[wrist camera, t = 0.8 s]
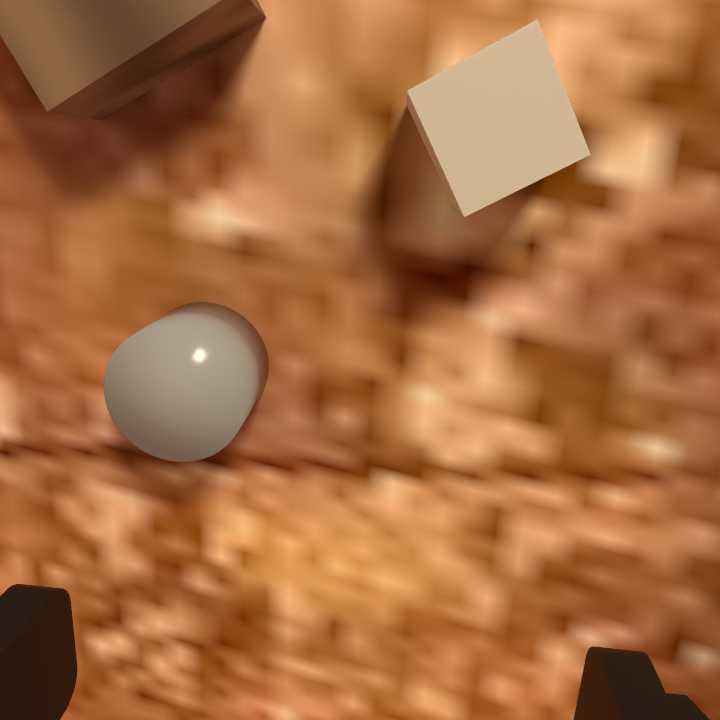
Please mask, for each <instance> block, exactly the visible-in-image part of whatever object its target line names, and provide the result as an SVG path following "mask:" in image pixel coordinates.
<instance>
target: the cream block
mask: <svg viewBox="0 0 720 720" xmlns="http://www.w3.org/2000/svg"><path fill="white" fill-rule="evenodd" d="M407 107H408V110H409V112H410V114H411V116H412V118H413V121H414V123H415V125H416V127H417V129H418V132H419V134H420V136H421V138H422V140H423V143H424V145H425V147H426V149H427V151H428V154H429V156H430V158H431V160H432V162H433V165H434V167H435V169H436V171H437V173H438V176H439V178H440V180H441V182H442V184H443V187H444V189H445V191H446V193H447V195H448V198H449V200H450V202H451V204H452V206H453V208H454V209H455V210H457V211H458V212H459V213H460V214H461V215H462V216H463V217H466V216H468V215H470V214H472V213H474V212H476V211H478V210H480V209H482V208H484V207H486V206H488V205H490V204H492V203H494V202H496V201H498V200H500V199H502V198H504V197H506V196H508V195H510V194H512V193H514V192H516V191H518V190H520V189H522V188H524V187H526V186H528V185H530V184H532V183H534V182H536V181H538V180H540V179H542V178H544V177H546V176H548V175H550V174H552V173H554V172H556V171H558V170H560V169H562V168H564V167H566V166H568V165H570V164H572V163H574V162H576V161H578V160H580V159H582V158H585V157H587V156H589V155H590V152H589V150H588V147H587V144H586V142H585V139H584V137H583V134H582V132H581V129H580V127H579V124H578V121H577V119H576V116H575V114H574V111H573V109H572V106H571V104H570V101H569V99H568V96H567V93H566V91H565V88H564V86H563V83H562V81H561V78H560V76H559V73H558V71H557V68H556V65H555V63H554V60H553V58H552V55H551V53H550V50H549V48H548V45H547V42H546V40H545V37H544V35H543V32H542V30H541V27H540V25H539V22H538V20H536V21H534V22H532V23H530V24H528V25H526V26H525V27H523V28H521V29H519V30H517V31H515V32H514V33H512V34H510V35H508V36H506V37H504V38H503V39H501V40H499V41H497V42H495V43H493V44H492V45H490V46H488V47H486V48H484V49H482V50H481V51H479V52H477V53H475V54H473V55H472V56H470V57H468V58H466V59H464V60H462V61H461V62H459V63H457V64H455V65H453V66H451V67H450V68H448V69H446V70H444V71H442V72H440V73H439V74H437V75H435V76H433V77H431V78H429V79H428V80H426V81H424V82H422V83H420V84H418V85H417V86H415V87H413V88H411V89H409V90H407Z"/></svg>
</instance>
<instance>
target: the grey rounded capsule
mask: <svg viewBox="0 0 720 720" xmlns="http://www.w3.org/2000/svg"><path fill="white" fill-rule="evenodd" d="M268 371H269V363H268V355H267V351H266V348H265V345H264V343H263V341H262V338H261V337H260V335H259V333H258V332H257V330H256V329H255V328H254V327H253V325H252V324H251V323H250V322H249V321H248V320H247V319H246V318H244V317H243V316H242V315H240V314H239V313H237V312H236V311H234V310H232V309H230V308H228V307H225V306H222V305H219V304H215V303H208V302H197V303H190V304H186V305H182V306H180V307H178V308H175V309H174V310H172V311H170V312H169V313H167V314H166V315H164V316H162V317H161V318H159V319H158V320H156V321H154V322H153V323H151V324H150V325H148V326H146V327H145V328H143V329H142V330H140V331H138V332H137V333H135V334H134V335H132V336H130V337H129V338H128V339H126V340H125V341H124V342H123V343H122V344H121V345H120V346H119V347H118V348H117V349H116V351H115V352H114V354H113V355H112V357H111V359H110V361H109V363H108V365H107V369H106V372H105V378H104V395H105V401H106V405H107V408H108V411H109V413H110V416H111V418H112V419H113V421H114V423H115V425H116V426H117V428H118V429H119V430H120V432H121V433H122V434H123V435H124V436H125V437H126V438H127V439H128V440H129V441H130V442H131V443H132V444H134V445H135V446H136V447H138V448H139V449H141V450H142V451H144V452H146V453H148V454H150V455H152V456H155V457H157V458H160V459H164V460H168V461H175V462H189V461H196V460H201V459H204V458H207V457H210V456H212V455H214V454H216V453H217V452H219V451H220V450H222V449H223V448H224V447H226V446H227V445H228V444H229V443H230V442H231V441H232V439H233V438H234V437H235V436H236V434H237V433H238V431H239V429H240V428H241V426H242V425H243V423H244V421H245V420H246V418H247V417H248V415H249V413H250V412H251V410H252V409H253V407H254V405H255V404H256V402H257V401H258V399H259V397H260V396H261V394H262V392H263V390H264V388H265V385H266V383H267V378H268Z"/></svg>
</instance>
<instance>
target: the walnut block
mask: <svg viewBox="0 0 720 720" xmlns="http://www.w3.org/2000/svg"><path fill="white" fill-rule="evenodd" d="M264 18H266V16H265V14H264V12H263V10H262V8H261V7H260V5H259V3H258V1H257V0H0V36H1V37H2V39H3V41H4V42H5V44H6V46H7V47H8V49H9V50H10V52H11V54H12V55H13V57H14V59H15V60H16V62H17V64H18V65H19V67H20V68H21V70H22V72H23V73H24V75H25V77H26V78H27V80H28V82H29V83H30V85H31V86H32V88H33V90H34V91H35V93H36V95H37V96H38V98H39V100H40V101H41V103H42V104H43V106H44V108H45V109H46V111H47V112H52V113H58V114H65V115H72V116H78V117H85V118H91V119H98V120H102V119H104V118H105V117H107V116H109V115H110V114H112V113H114V112H115V111H117V110H118V109H120V108H122V107H123V106H125V105H126V104H128V103H130V102H131V101H133V100H134V99H136V98H138V97H139V96H141V95H142V94H144V93H146V92H147V91H149V90H150V89H152V88H154V87H155V86H157V85H158V84H160V83H162V82H163V81H165V80H166V79H168V78H170V77H171V76H173V75H174V74H176V73H178V72H179V71H181V70H183V69H184V68H186V67H187V66H189V65H191V64H192V63H194V62H195V61H197V60H199V59H200V58H202V57H203V56H205V55H207V54H208V53H210V52H211V51H213V50H215V49H216V48H218V47H219V46H221V45H223V44H224V43H226V42H227V41H229V40H231V39H232V38H234V37H235V36H237V35H239V34H240V33H242V32H243V31H245V30H247V29H248V28H250V27H251V26H253V25H255V24H256V23H258V22H260V21H261V20H263V19H264Z"/></svg>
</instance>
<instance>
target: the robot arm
mask: <svg viewBox="0 0 720 720" xmlns="http://www.w3.org/2000/svg"><path fill="white" fill-rule="evenodd" d="M76 678H77V659H76V649H75V639H74V630H73V620H72V610H71V601H70V596H69V594H68V592H67V591H66V590H65V589H61V588H52V587H43V586H33V585H24V584H15V585H13V586H11V587H10V588H8V589H7V590H6V591H5V592H4V593H3V594H2V595H1V596H0V720H60V719H61V717H62V716H63V714H64V712H65V711H66V709H67V707H68V705H69V702H70V700H71V697H72V694H73V691H74V688H75V683H76ZM574 720H709V719H708V718H707V716H706V715H705V714H704V713H703V712H702V711H701V710H700V709H699V708H698V707H697V706H696V705H695V704H694V703H693V702H692V701H691V700H690V699H689V698H688V697H687V696H686V695H678V694H669V693H665V690H664V688H663V686H662V684H661V682H660V679H659V677H658V675H657V673H656V671H655V669H654V666H653V664H652V662H651V660H650V658H649V657H648V656H647V654H646V653H644V652H640V651H630V650H621V649H611V648H602V647H590V648H589V650H588V652H587V655H586V659H585V665H584V670H583V675H582V680H581V685H580V690H579V695H578V701H577V706H576V711H575V716H574Z"/></svg>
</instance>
